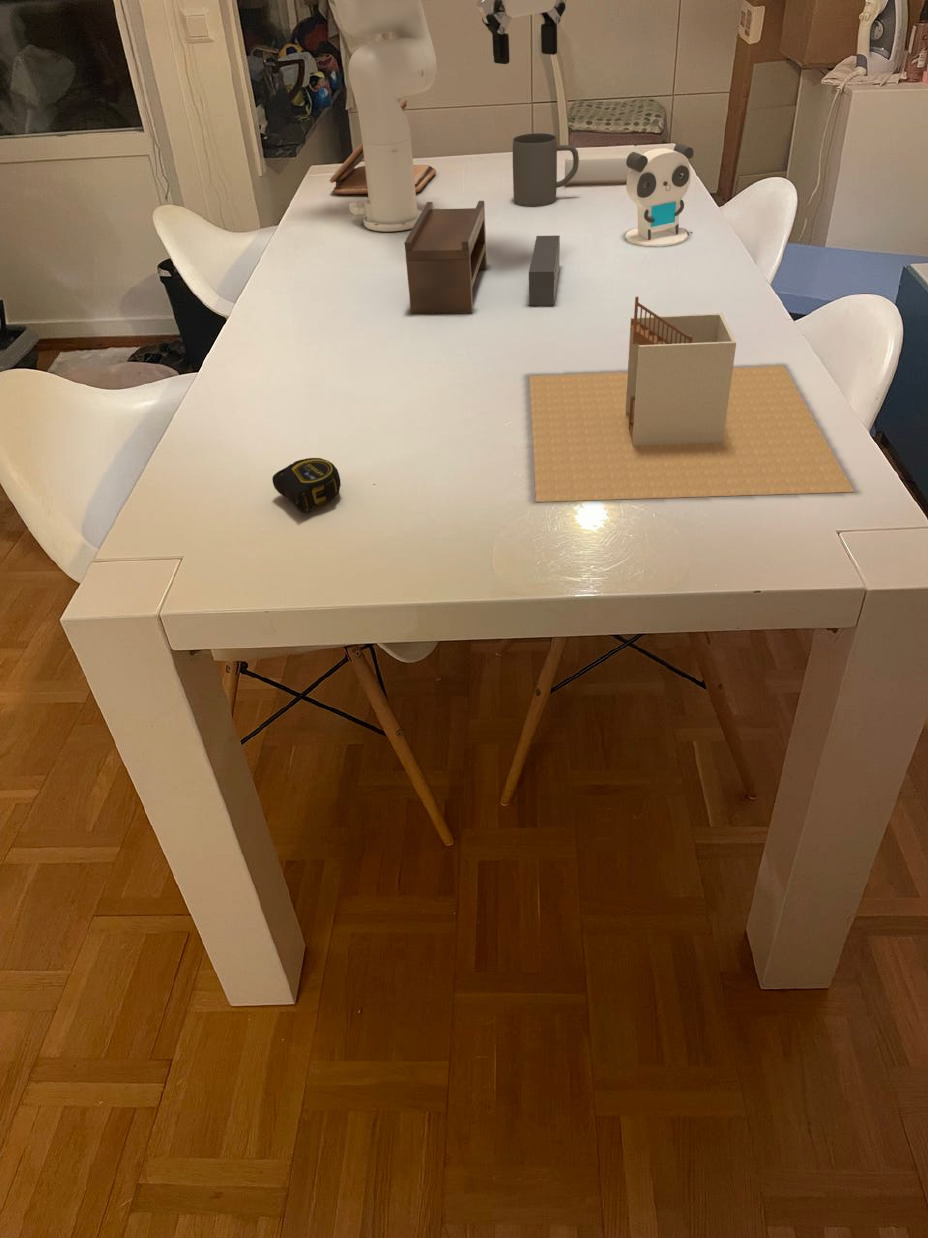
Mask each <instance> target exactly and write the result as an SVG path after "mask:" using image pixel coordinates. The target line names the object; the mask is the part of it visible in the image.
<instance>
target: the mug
mask: <svg viewBox="0 0 928 1238" xmlns="http://www.w3.org/2000/svg"><path fill="white" fill-rule="evenodd" d="M565 151H566V152H568V151H569V152H570V153H571V154H572V160H573V168H572V170H571V171H570V173H569V174H568V175H567V176H566V177H565V176H564V178H563V179H561V180H559V181H558V152H565ZM579 160H580V157H579V152H578V149H577V148H576V147H575V146H574V145H570V144H558V140H557V136H556V135H554V134H552V133H542V132H539V133H536V132H535V133H534V132H533V133H525V134H520V135H517V136H515V137H514V138H513V139H512V187H513V188H512V189H513V200H514V203H515V204H517V205H519V206H524V207H541V206H542V207H543V206H547V205H551V204H552V203H554V202H556V200H557V189H559V188H561V187H564V186H565V184H567V183H568V182H569V181H570V180H571V179H572V178H573V176H574V175H575V174H576V172H577V169H578V164H579Z"/></svg>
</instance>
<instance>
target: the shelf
mask: <svg viewBox="0 0 928 1238" xmlns="http://www.w3.org/2000/svg"><path fill="white" fill-rule="evenodd" d="M433 204H434V202H433V201H426V203H425V204H424V206H423V208H422V210H421V211H422V212H421V214H420V216H419V218H418V219H417V221H416V223H415V225H414V227H413V228H412V229H410V232H409V233H408V236H407V237H406V240H405V241H404V242H403V243H404V244H403V245H404V252H405V253H404V255H405V264H406V274H407V275H406V276H407V283H408V284H407V285H408V294H409V295H408V296H409V305H410V306H409V307H410V314H411V315H412V314H413V315H414V314H415V315H416V314H417V315H418V314H419V315H420V314H423V315H427V314H429V315H431V314H437V315H438V314H439V315H440V314H473V311H474V301H473V287H474V284H475V281H476V278H477V275H478V272H479V270H487V268H488V261H487V260H488V257H487V238H486V237H487V233H486V231H487V230H486V212H485V211H486V210H485V209H486V207H485V200H478V201H477V204H476V207H470V208H469V207H468V208H434V205H433Z"/></svg>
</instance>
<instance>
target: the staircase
mask: <svg viewBox="0 0 928 1238" xmlns="http://www.w3.org/2000/svg"><path fill="white" fill-rule="evenodd" d="M639 308H640V314H639V316H638V313H639ZM643 311H644V316H643ZM647 314H649V316H647ZM629 324H630V326H629V341H628V343H629V344H628V360H627V375H626V392H625V409H624V413H625V414H628V429H629V431H630V435H631V444H632V445H633V446H645V445H673V444H679V445H680V444H701V443H706V444H708V443H723V442H724V438H725V430H726V423H727V416H728V408H729V401H730V394H731V386H732V379H733V371H734V368H735V367H734V364H735V356H736V350H737V341H736V339H735V337H734V334H733V333H732V331H731V328H730V326H729V325H728V322H727V320H726V318H725V316H724V314H723V312H720V313H719V312H718V313H699V314H698V313H697V314H695V313H694V314H676V315H675V314H674V315H673V314H672V315H658V314H656V313H655V312H653V311H652V310H650V309H649V308H648V307H645V306H644V305H643V304H641V303H640V302H639V296H635V298H634V313H633V316H632V317H630V323H629Z"/></svg>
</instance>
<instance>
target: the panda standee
mask: <svg viewBox="0 0 928 1238" xmlns="http://www.w3.org/2000/svg"><path fill="white" fill-rule="evenodd" d="M626 158H627V161H626V165H627V167H629V168H631V170H630V173H629V175H628V179H627V183H626V193H627V195H628V197H629V199H630V200H631V201H632V202H633V203H634V204H635V205H636V207H637V209H636V211H637V212H636V213H637V227H634V228H632V229H630V230H628V231H627V232H626V233H625V239H626V241H628V242H629V243H631V244H632V245H633V244H634V245H637V246H643V247H655V248H656V247H657V248H658V247H669V246H674V245H678V244H680V243H683V242H685V241H686V240H687V239H688V232H687V231H686V230H684V229H682V228H681V227H679V225H680V214H681V213H682V212H683V210H684V209H685V202H684V200H683V198H684V197H685V195H686V194H687V192H688V189H689V188H690V184H691V177H692V176H691V173H692V172H691V165H690V161H689V160H690V159H692V158H694V148H693V147H690V146H687V145H685V144H683V143H677V144H675V145H674V147H673V149H670V148H667V147H661V148H659V147H658V148H654V149H651V150H647V151H646V152H644V153H642V154H641V153H638V152H636V151H632V152H630V153H629V154H628V156H627V157H626Z"/></svg>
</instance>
